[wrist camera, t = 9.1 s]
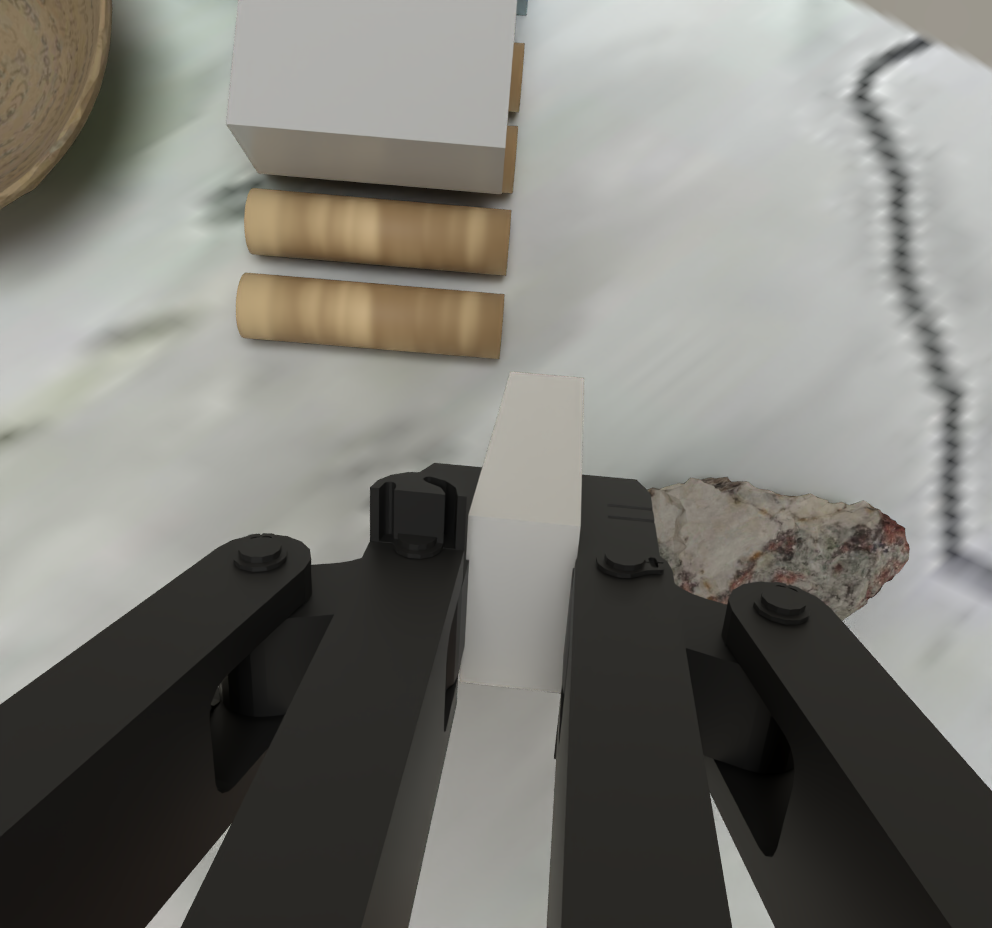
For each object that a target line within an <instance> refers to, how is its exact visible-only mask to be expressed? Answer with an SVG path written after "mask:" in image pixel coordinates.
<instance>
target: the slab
mask: <svg viewBox="0 0 992 928" xmlns="http://www.w3.org/2000/svg"><path fill="white" fill-rule="evenodd" d="M516 10H517V0H238V8H237V18H236V28H235V38H234V48H233V58H232V68H231V78H230V88H229V99H228V109H227V119H226V125H227V126H228V128H229V129H230V131H231V132H232V134H233V135H234V137H235V138H236V140H237V141H238V143H239V145H240V146H241V148H242V149H243V151H244V152H245V154H246V155H247V157H248V158H249V160H250V161H251V163H252V164H253V166H254V168H255V169H256V171H257V172H258V174H270V175H282V176H293V177H305V178H317V179H328V180H340V181H352V182H364V183H375V184H387V185H399V186H410V187H422V188H434V189H445V190H457V191H469V192H480V193H492V194H502V184H503V172H504V159H505V147H506V134H507V122H508V110H509V97H510V85H511V72H512V60H513V47H514V35H515V23H516Z"/></svg>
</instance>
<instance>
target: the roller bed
mask: <svg viewBox="0 0 992 928" xmlns="http://www.w3.org/2000/svg"><path fill="white" fill-rule="evenodd" d="M524 45H525V43H514V47H513V60H512V72H511V85H510V97H509V110H508V111H510V112H519V106H520V95H521V83H522V71H523V59H524ZM517 134H518V126H507V134H506V147H505V159H504V172H503V184H502V193H512V192H513V182H514V171H515V159H516V147H517ZM510 222H511V210H504V209H492V208H481V207H469V206H457V205H445V204H434V203H422V202H410V201H398V200H387V199H375V198H363V197H352V196H340V195H328V194H316V193H305V192H293V191H281V190H270V189H258V188H252V189H251V190H250V192H249V194H248V196H247V200H246V206H245V217H244V227H245V238H246V243H247V247H248V250H249V252H250V253H251V254H255V255H267V256H279V257H290V258H302V259H314V260H326V261H338V262H350V263H362V264H374V265H386V266H398V267H409V268H421V269H433V270H445V271H457V272H469V273H481V274H493V275H505V276H506V269H507V258H508V247H509V235H510ZM503 310H504V294H494V293H482V292H470V291H458V290H446V289H434V288H422V287H411V286H399V285H387V284H375V283H363V282H351V281H339V280H327V279H315V278H303V277H291V276H279V275H267V274H255V273H244V274H243V275H242V277H241V279H240V282H239V285H238V290H237V297H236V320H237V326H238V330H239V333H240V335H241V336H242V337H243V338H251V339H263V340H275V341H287V342H300V343H312V344H324V345H336V346H348V347H360V348H372V349H385V350H397V351H409V352H421V353H433V354H445V355H457V356H469V357H482V358H494V359H499V356H500V346H501V334H502V322H503Z"/></svg>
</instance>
